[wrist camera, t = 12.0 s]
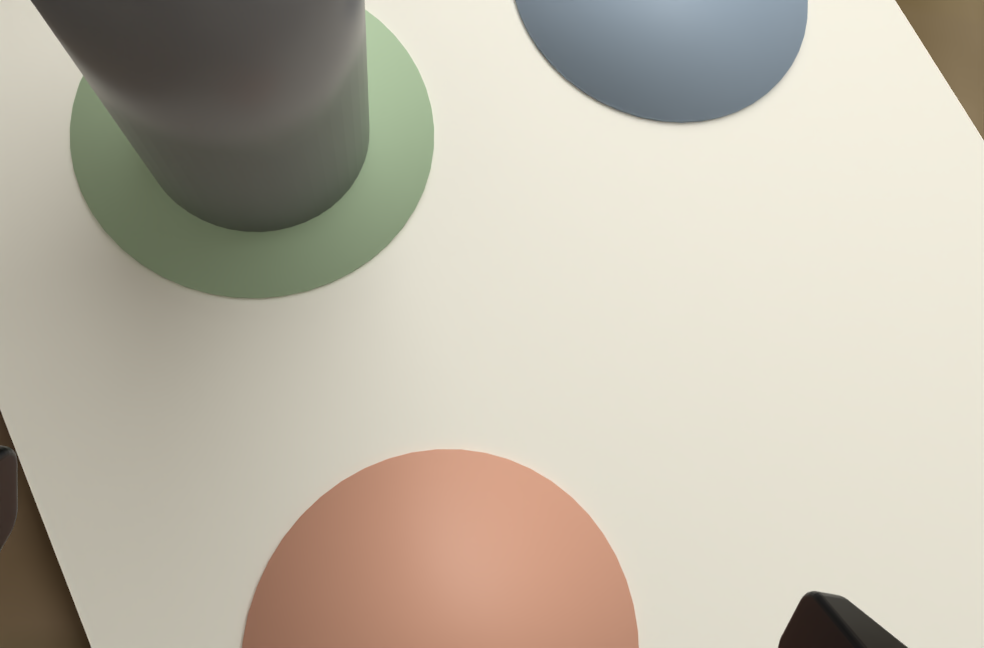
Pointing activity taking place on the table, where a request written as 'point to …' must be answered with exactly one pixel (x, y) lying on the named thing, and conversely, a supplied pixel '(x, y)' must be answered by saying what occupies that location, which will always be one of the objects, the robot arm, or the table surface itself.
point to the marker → (231, 98)
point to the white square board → (519, 342)
